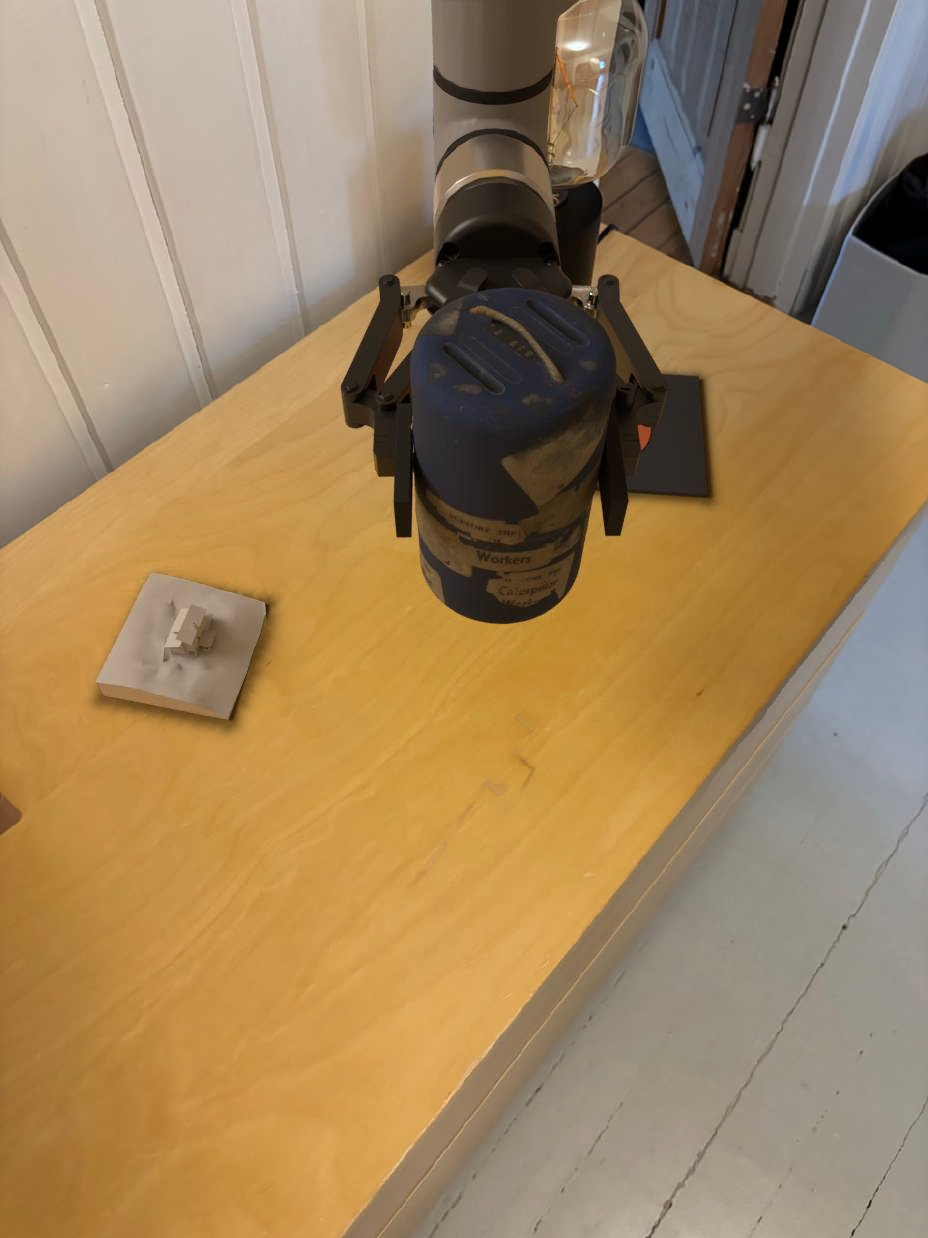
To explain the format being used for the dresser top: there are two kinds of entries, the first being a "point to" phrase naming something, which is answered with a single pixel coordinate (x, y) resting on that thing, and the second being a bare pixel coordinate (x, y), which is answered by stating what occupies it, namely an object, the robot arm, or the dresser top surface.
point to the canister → (507, 448)
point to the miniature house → (184, 647)
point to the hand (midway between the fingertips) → (510, 519)
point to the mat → (673, 445)
